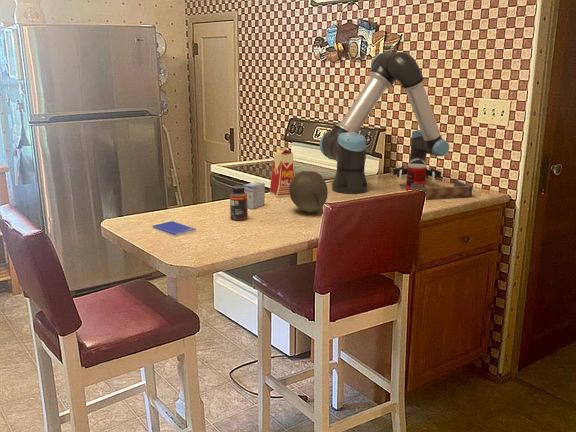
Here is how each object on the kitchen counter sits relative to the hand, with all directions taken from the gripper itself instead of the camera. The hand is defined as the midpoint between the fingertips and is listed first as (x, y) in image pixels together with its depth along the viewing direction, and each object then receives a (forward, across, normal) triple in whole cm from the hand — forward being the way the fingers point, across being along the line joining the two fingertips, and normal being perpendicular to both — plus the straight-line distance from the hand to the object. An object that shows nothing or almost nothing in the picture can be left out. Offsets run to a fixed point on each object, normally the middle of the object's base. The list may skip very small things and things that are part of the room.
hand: (416, 176), depth 240 cm
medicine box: (+43, +58, -7) cm, 73 cm away
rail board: (+4, -10, -6) cm, 13 cm away
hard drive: (+79, +75, -7) cm, 109 cm away
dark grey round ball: (+45, +38, -7) cm, 59 cm away
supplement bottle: (+61, +59, -7) cm, 85 cm away
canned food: (-2, 0, -7) cm, 7 cm away
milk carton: (+22, +52, -7) cm, 57 cm away
